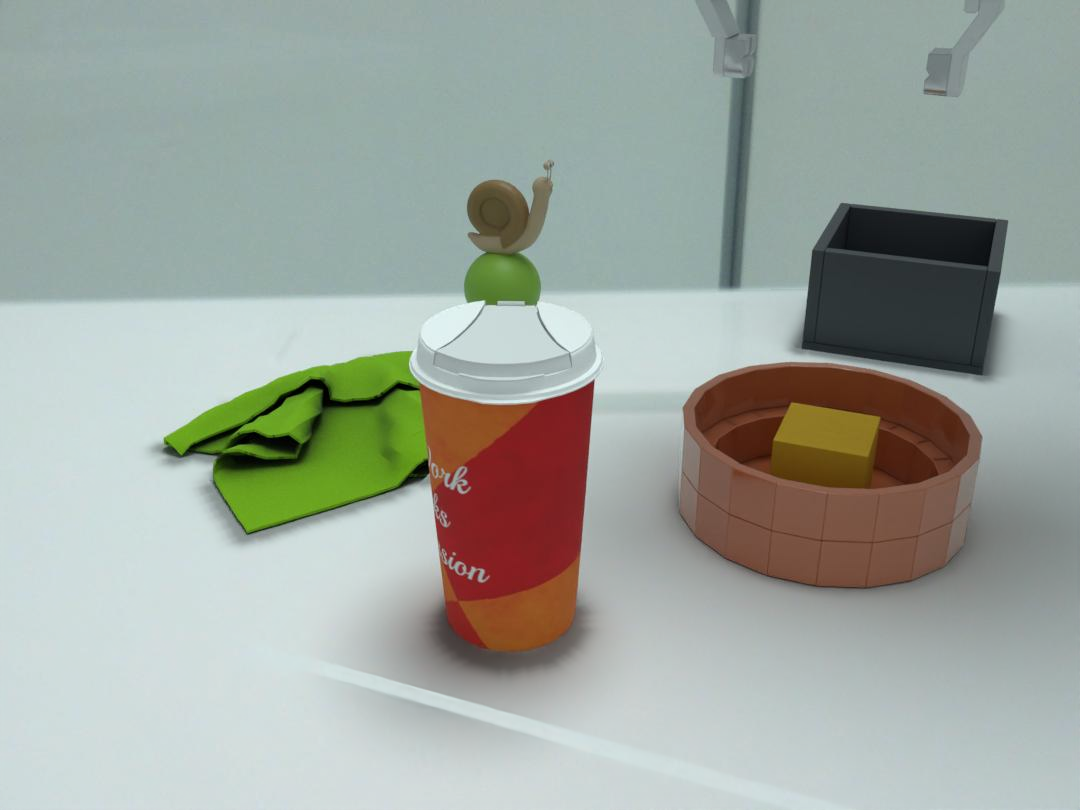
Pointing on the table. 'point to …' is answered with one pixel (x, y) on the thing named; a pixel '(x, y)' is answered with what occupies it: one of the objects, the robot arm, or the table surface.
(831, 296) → the bin
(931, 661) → the table surface
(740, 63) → the robot arm
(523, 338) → the paper cup
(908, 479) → the bowl
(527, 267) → the snail figurine
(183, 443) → the cloth
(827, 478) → the toy block
